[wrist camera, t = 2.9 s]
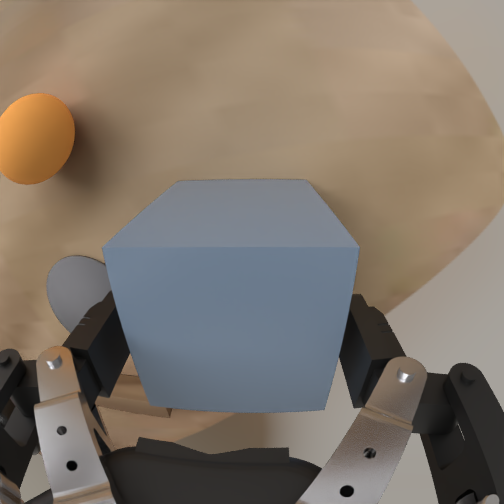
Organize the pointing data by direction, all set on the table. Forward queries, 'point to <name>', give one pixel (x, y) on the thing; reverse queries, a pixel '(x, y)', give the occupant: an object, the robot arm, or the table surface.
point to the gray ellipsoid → (76, 288)
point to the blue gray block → (234, 295)
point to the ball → (35, 138)
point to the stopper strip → (131, 398)
